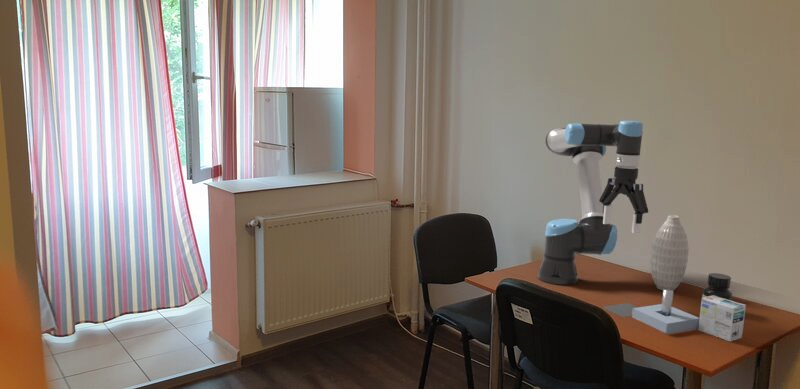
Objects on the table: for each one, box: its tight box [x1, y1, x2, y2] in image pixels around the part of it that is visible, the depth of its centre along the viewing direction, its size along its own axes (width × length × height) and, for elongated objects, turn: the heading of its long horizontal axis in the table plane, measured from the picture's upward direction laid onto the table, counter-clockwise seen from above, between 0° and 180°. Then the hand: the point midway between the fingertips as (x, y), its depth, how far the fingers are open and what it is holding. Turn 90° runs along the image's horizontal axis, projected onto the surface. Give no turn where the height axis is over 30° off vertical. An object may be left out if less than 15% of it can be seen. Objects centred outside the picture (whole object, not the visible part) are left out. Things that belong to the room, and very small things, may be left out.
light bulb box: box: [697, 295, 747, 342], centre depth 190 cm, size 11×7×11 cm, turn 33°
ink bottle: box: [701, 272, 733, 301], centre depth 213 cm, size 10×9×12 cm
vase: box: [650, 214, 689, 292], centre depth 232 cm, size 13×13×28 cm
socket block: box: [631, 303, 700, 335], centre depth 198 cm, size 14×14×4 cm
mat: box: [601, 302, 638, 318], centre depth 209 cm, size 10×12×1 cm
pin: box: [661, 289, 674, 316], centre depth 198 cm, size 3×3×11 cm
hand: (620, 228), depth 213 cm, fingers open, 13 cm apart
